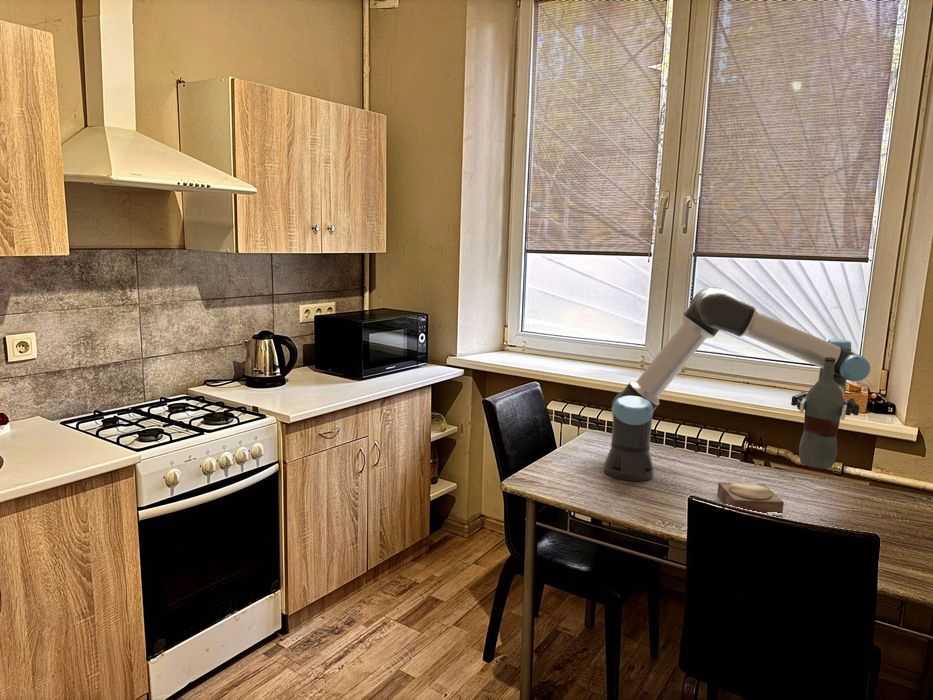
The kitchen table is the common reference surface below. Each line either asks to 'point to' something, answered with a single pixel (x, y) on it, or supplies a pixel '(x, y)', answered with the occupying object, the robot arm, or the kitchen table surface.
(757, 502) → the soap dish
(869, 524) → the kitchen table surface
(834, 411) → the vodka
